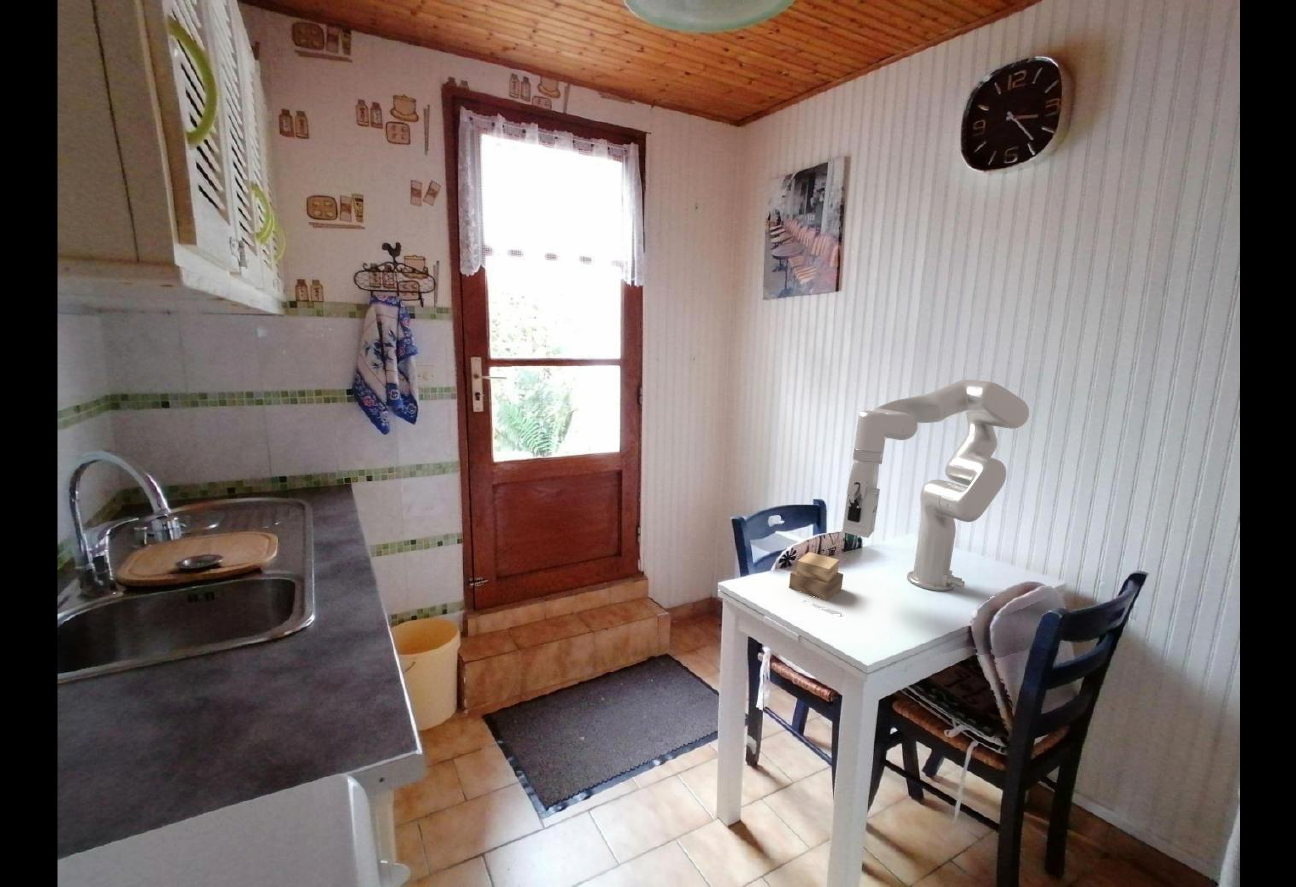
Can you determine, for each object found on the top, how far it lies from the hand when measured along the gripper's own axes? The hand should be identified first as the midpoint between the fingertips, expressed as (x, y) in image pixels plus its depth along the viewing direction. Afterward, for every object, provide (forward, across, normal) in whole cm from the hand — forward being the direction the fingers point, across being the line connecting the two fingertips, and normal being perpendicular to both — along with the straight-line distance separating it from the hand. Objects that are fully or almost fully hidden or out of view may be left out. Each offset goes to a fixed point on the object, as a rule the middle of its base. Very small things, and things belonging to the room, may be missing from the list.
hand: (859, 518), depth 155 cm
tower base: (+23, +4, -8) cm, 25 cm away
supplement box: (+4, 0, 0) cm, 4 cm away
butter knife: (+23, +14, -8) cm, 28 cm away
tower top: (+18, +4, -8) cm, 20 cm away
